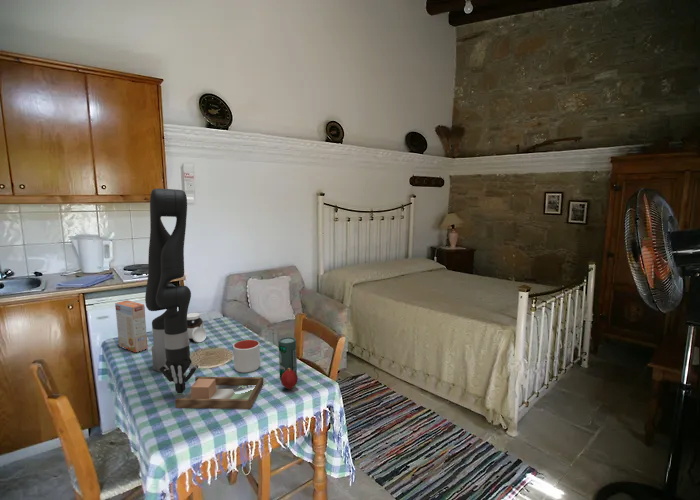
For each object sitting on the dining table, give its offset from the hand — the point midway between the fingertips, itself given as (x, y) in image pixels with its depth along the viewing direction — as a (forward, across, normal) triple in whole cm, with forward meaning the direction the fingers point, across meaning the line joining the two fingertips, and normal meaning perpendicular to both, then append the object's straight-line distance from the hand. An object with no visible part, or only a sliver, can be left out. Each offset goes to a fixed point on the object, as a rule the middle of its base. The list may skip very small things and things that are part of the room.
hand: (180, 392), depth 132 cm
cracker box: (+2, -41, +40) cm, 58 cm away
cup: (+2, +16, +22) cm, 27 cm away
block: (+1, +8, 0) cm, 8 cm away
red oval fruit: (+2, +36, +6) cm, 37 cm away
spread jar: (+2, -18, +52) cm, 55 cm away
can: (+2, +34, +14) cm, 37 cm away
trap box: (+1, +14, 0) cm, 14 cm away
